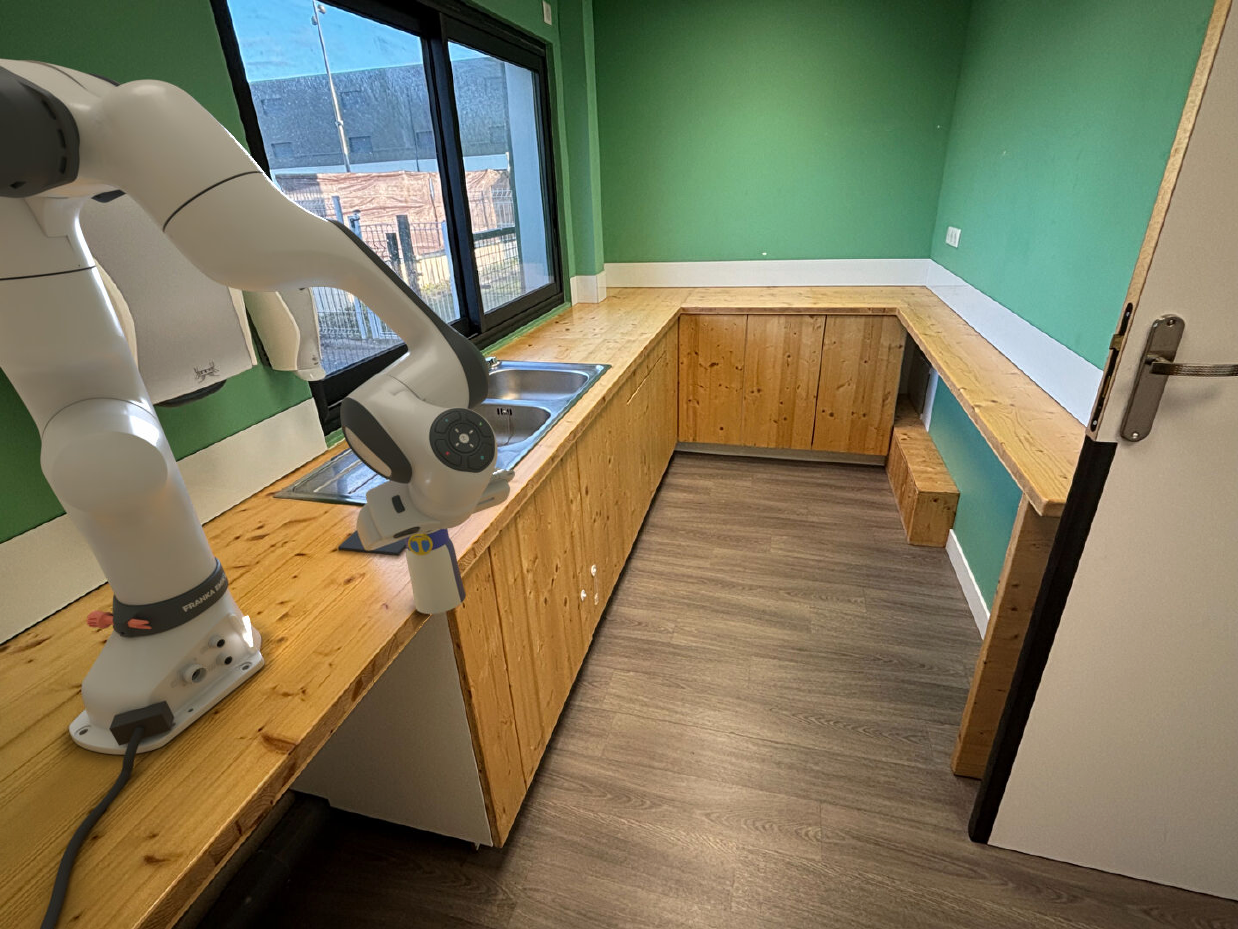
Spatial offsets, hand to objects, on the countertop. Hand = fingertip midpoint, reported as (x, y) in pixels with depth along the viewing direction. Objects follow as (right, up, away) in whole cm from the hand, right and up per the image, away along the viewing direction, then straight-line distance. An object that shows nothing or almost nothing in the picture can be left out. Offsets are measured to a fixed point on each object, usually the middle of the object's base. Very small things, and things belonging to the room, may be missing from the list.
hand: (431, 525), depth 87 cm
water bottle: (0, -13, +7) cm, 15 cm away
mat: (-17, -4, +26) cm, 31 cm away
